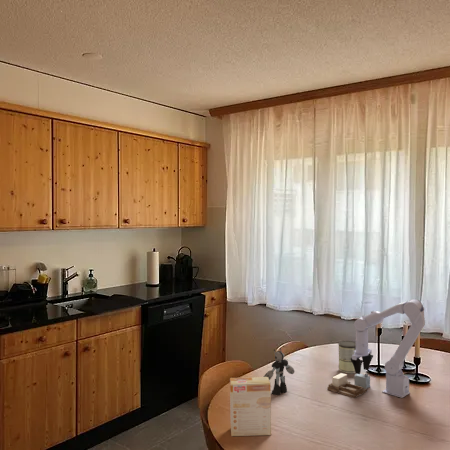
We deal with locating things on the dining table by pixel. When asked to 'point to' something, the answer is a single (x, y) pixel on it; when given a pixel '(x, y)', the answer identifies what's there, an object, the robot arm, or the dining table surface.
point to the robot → (279, 373)
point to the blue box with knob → (362, 380)
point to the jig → (348, 389)
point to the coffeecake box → (250, 406)
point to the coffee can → (346, 356)
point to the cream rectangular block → (339, 379)
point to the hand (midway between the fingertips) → (362, 371)
